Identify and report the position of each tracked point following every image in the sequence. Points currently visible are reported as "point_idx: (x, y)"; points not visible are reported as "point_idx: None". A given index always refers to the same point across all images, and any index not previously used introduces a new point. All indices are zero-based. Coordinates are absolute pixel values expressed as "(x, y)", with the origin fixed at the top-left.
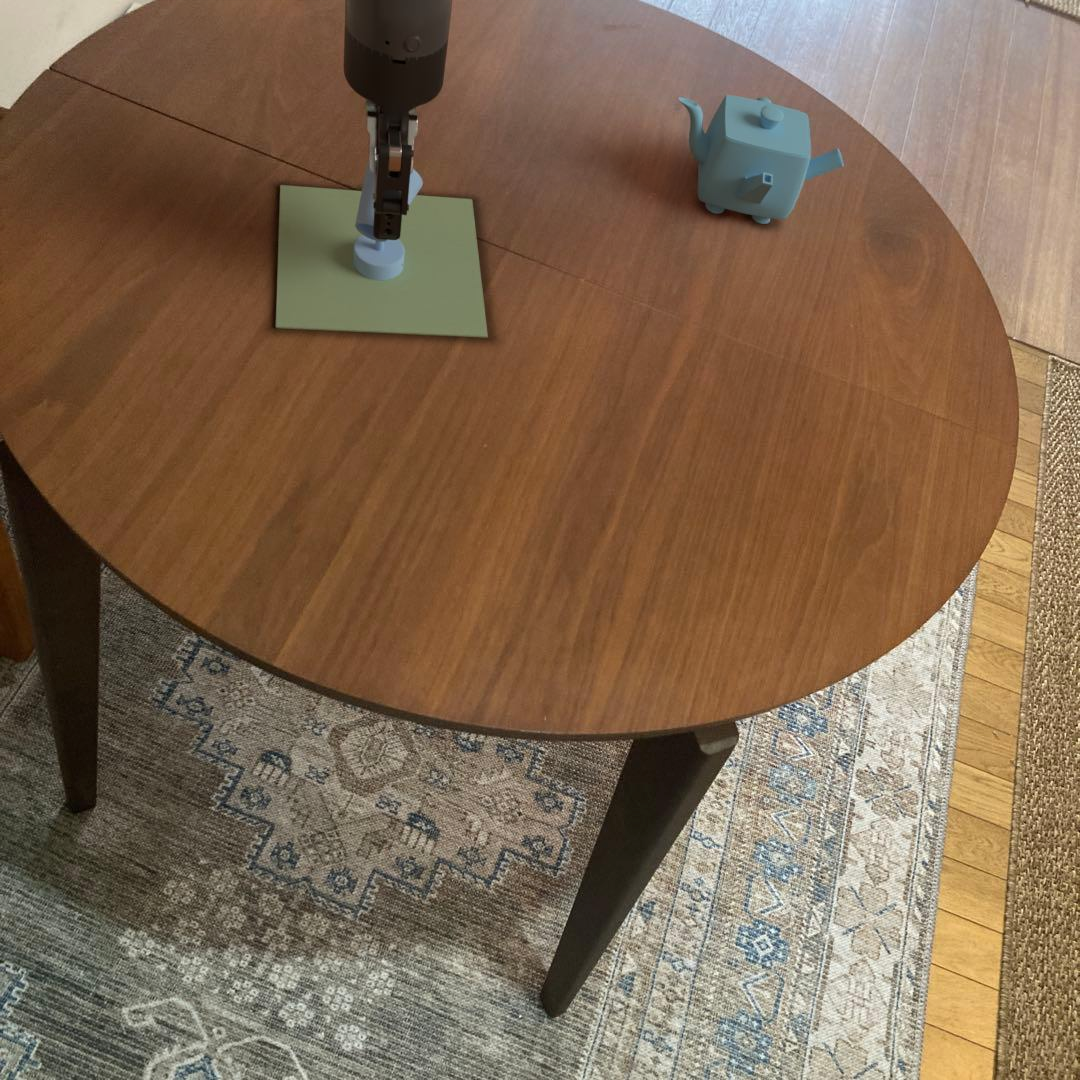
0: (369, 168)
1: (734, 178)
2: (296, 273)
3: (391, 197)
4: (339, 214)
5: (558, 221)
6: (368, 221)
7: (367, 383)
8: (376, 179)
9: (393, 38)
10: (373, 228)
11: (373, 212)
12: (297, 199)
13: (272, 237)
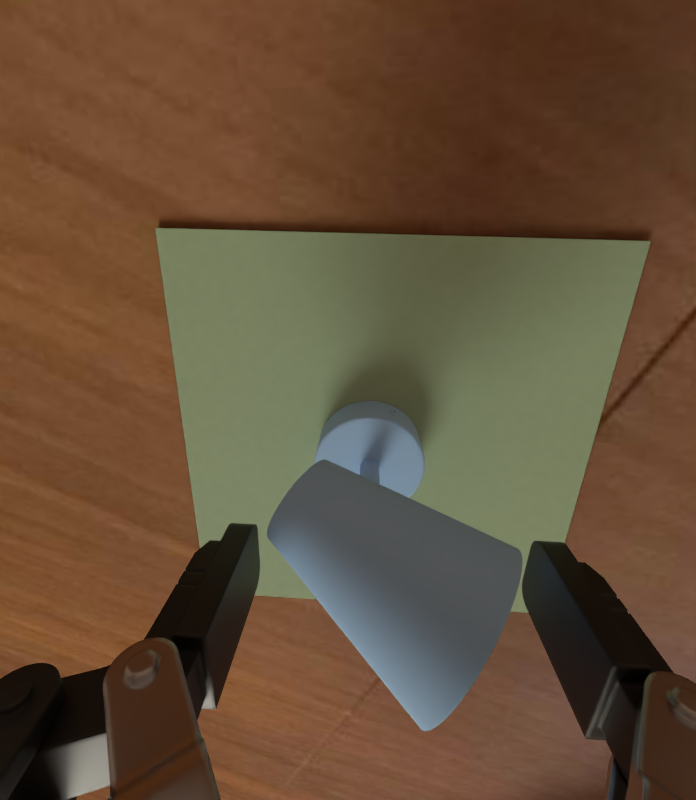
0: (132, 793)
1: None
2: (327, 278)
3: (35, 782)
4: (521, 381)
5: (479, 709)
6: (279, 519)
7: (60, 405)
8: (109, 771)
9: None
10: (238, 533)
11: (294, 546)
12: (586, 285)
13: (455, 219)
